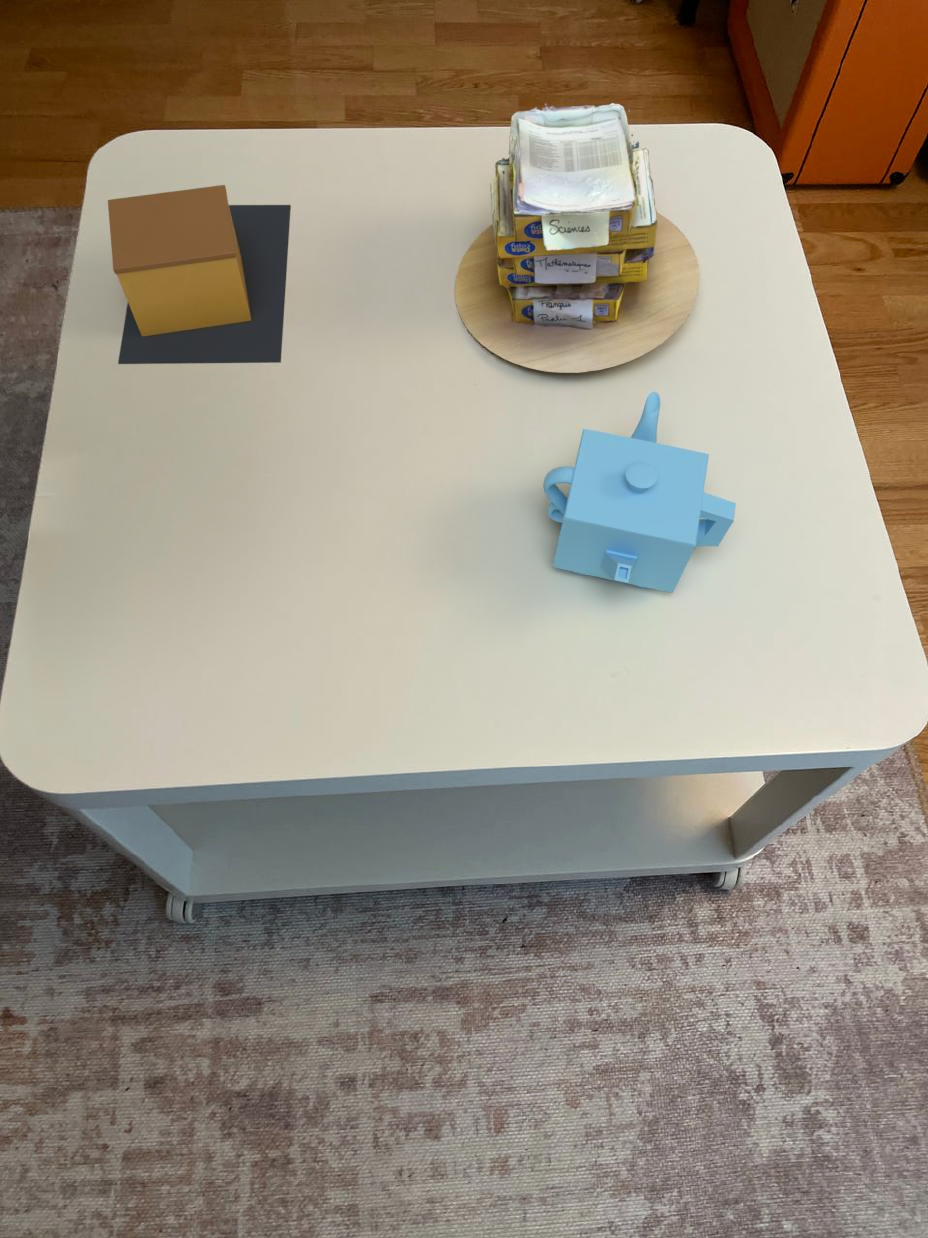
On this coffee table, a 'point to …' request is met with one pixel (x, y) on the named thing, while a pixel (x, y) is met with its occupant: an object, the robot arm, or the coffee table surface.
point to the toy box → (178, 260)
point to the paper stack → (575, 248)
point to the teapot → (634, 507)
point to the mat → (265, 282)
